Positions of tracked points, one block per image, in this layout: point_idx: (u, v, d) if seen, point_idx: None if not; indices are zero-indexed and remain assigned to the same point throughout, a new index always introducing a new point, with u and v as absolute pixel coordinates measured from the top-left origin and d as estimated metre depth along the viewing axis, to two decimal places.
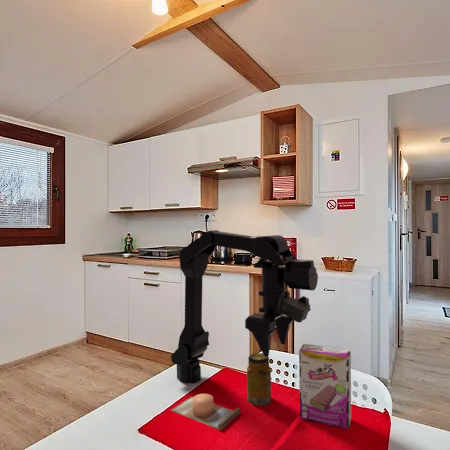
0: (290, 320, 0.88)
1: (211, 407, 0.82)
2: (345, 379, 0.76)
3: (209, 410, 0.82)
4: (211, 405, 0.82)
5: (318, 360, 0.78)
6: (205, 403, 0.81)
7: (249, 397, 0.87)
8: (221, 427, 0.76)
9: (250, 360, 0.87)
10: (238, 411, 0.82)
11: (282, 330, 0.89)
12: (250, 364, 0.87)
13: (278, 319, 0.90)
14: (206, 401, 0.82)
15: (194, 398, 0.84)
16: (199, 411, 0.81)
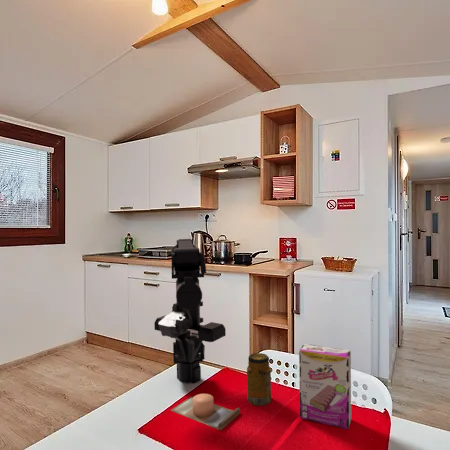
0: None
1: (211, 407, 0.82)
2: (345, 379, 0.76)
3: (209, 410, 0.82)
4: (211, 405, 0.82)
5: (318, 360, 0.78)
6: (205, 403, 0.81)
7: (249, 397, 0.87)
8: (221, 427, 0.76)
9: (250, 360, 0.87)
10: (238, 411, 0.82)
11: None
12: (250, 364, 0.87)
13: None
14: (206, 401, 0.82)
15: (194, 398, 0.84)
16: (199, 411, 0.81)
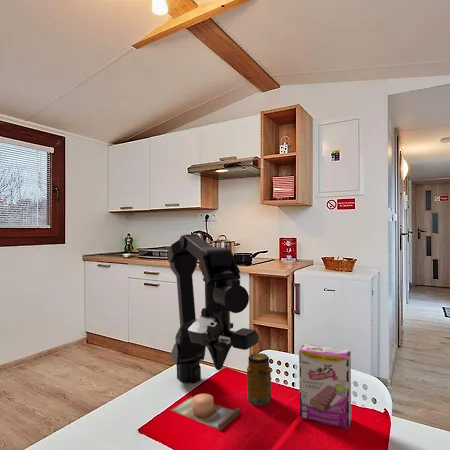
0: None
1: (211, 407, 0.82)
2: (345, 379, 0.76)
3: (209, 410, 0.82)
4: (211, 405, 0.82)
5: (318, 360, 0.78)
6: (205, 403, 0.81)
7: (249, 397, 0.87)
8: (221, 427, 0.76)
9: (250, 360, 0.87)
10: (238, 411, 0.82)
11: None
12: (250, 364, 0.87)
13: None
14: (206, 401, 0.82)
15: (194, 398, 0.84)
16: (199, 411, 0.81)
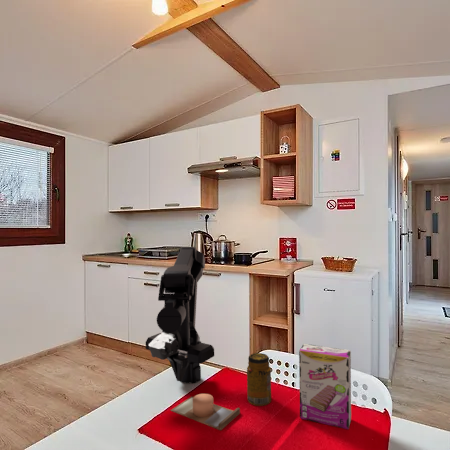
0: None
1: (211, 407, 0.82)
2: (345, 379, 0.76)
3: (209, 410, 0.82)
4: (211, 405, 0.82)
5: (318, 360, 0.78)
6: (205, 403, 0.81)
7: (249, 397, 0.87)
8: (221, 427, 0.76)
9: (250, 360, 0.87)
10: (238, 411, 0.82)
11: None
12: (250, 364, 0.87)
13: None
14: (206, 401, 0.82)
15: (194, 398, 0.84)
16: (199, 411, 0.81)
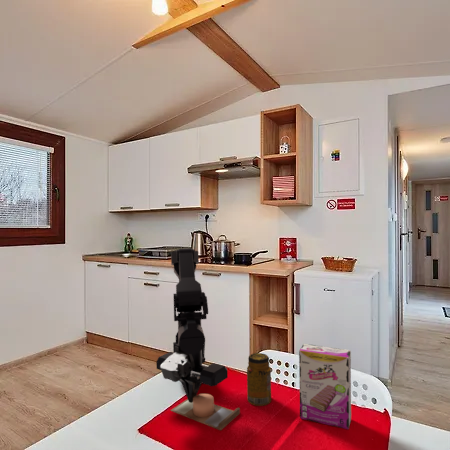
0: None
1: (211, 407, 0.82)
2: (345, 379, 0.76)
3: (209, 410, 0.82)
4: (211, 405, 0.82)
5: (318, 360, 0.78)
6: (206, 404, 0.81)
7: (249, 397, 0.87)
8: (221, 427, 0.76)
9: (250, 360, 0.87)
10: (238, 411, 0.82)
11: None
12: (250, 364, 0.87)
13: None
14: (206, 401, 0.82)
15: (194, 398, 0.84)
16: (199, 411, 0.81)
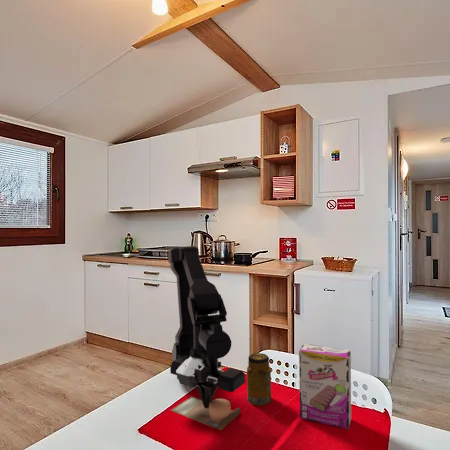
0: None
1: (228, 413, 0.80)
2: (345, 379, 0.76)
3: (226, 416, 0.79)
4: (228, 411, 0.80)
5: (318, 360, 0.78)
6: (223, 409, 0.79)
7: (249, 397, 0.87)
8: (221, 427, 0.76)
9: (250, 360, 0.87)
10: (238, 411, 0.82)
11: None
12: (250, 364, 0.87)
13: None
14: (223, 406, 0.80)
15: (211, 403, 0.81)
16: (216, 417, 0.79)
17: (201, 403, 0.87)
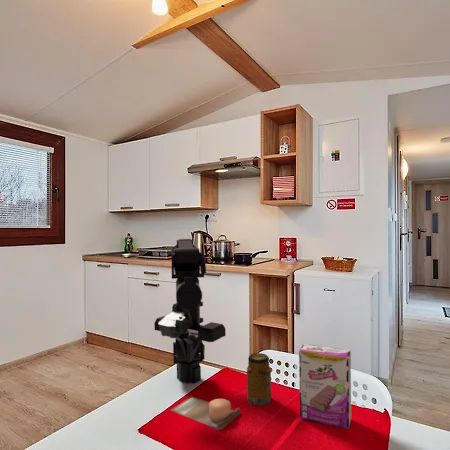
0: None
1: (228, 413, 0.80)
2: (345, 379, 0.76)
3: (226, 416, 0.79)
4: (228, 411, 0.80)
5: (318, 360, 0.78)
6: (223, 409, 0.79)
7: (249, 397, 0.87)
8: (221, 427, 0.76)
9: (250, 360, 0.87)
10: (238, 411, 0.82)
11: None
12: (250, 364, 0.87)
13: None
14: (223, 406, 0.80)
15: (211, 403, 0.81)
16: (216, 417, 0.79)
17: (201, 403, 0.87)
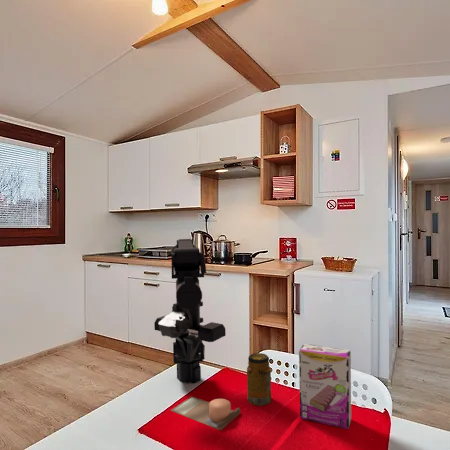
0: None
1: (228, 413, 0.80)
2: (345, 379, 0.76)
3: (226, 416, 0.79)
4: (228, 411, 0.80)
5: (318, 360, 0.78)
6: (223, 409, 0.79)
7: (249, 397, 0.87)
8: (221, 427, 0.76)
9: (250, 360, 0.87)
10: (238, 411, 0.82)
11: None
12: (250, 364, 0.87)
13: None
14: (223, 406, 0.80)
15: (211, 403, 0.81)
16: (216, 417, 0.79)
17: (201, 403, 0.87)
